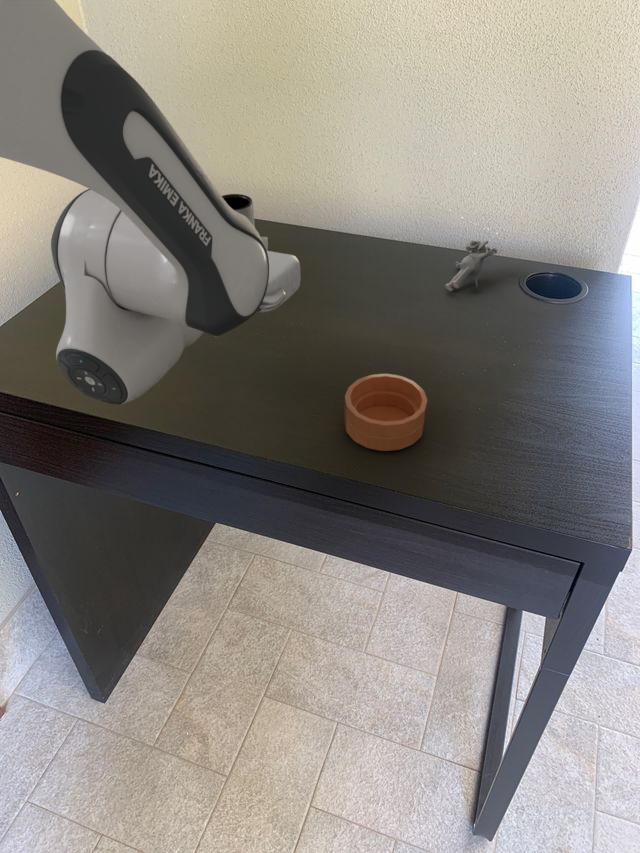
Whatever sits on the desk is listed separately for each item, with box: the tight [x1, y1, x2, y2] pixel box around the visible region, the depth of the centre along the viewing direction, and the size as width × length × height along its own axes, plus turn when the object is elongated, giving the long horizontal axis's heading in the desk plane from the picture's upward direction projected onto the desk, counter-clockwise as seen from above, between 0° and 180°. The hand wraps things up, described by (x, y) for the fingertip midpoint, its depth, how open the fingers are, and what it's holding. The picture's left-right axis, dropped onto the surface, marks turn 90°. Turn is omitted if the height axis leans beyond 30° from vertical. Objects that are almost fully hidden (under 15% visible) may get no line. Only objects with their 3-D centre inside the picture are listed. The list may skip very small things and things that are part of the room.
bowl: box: [343, 373, 428, 452], centre depth 79 cm, size 9×9×4 cm
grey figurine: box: [444, 240, 498, 293], centre depth 104 cm, size 10×6×9 cm
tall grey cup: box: [221, 193, 256, 228], centre depth 80 cm, size 4×4×10 cm
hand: (239, 238), depth 81 cm, fingers closed on tall grey cup, 4 cm apart
